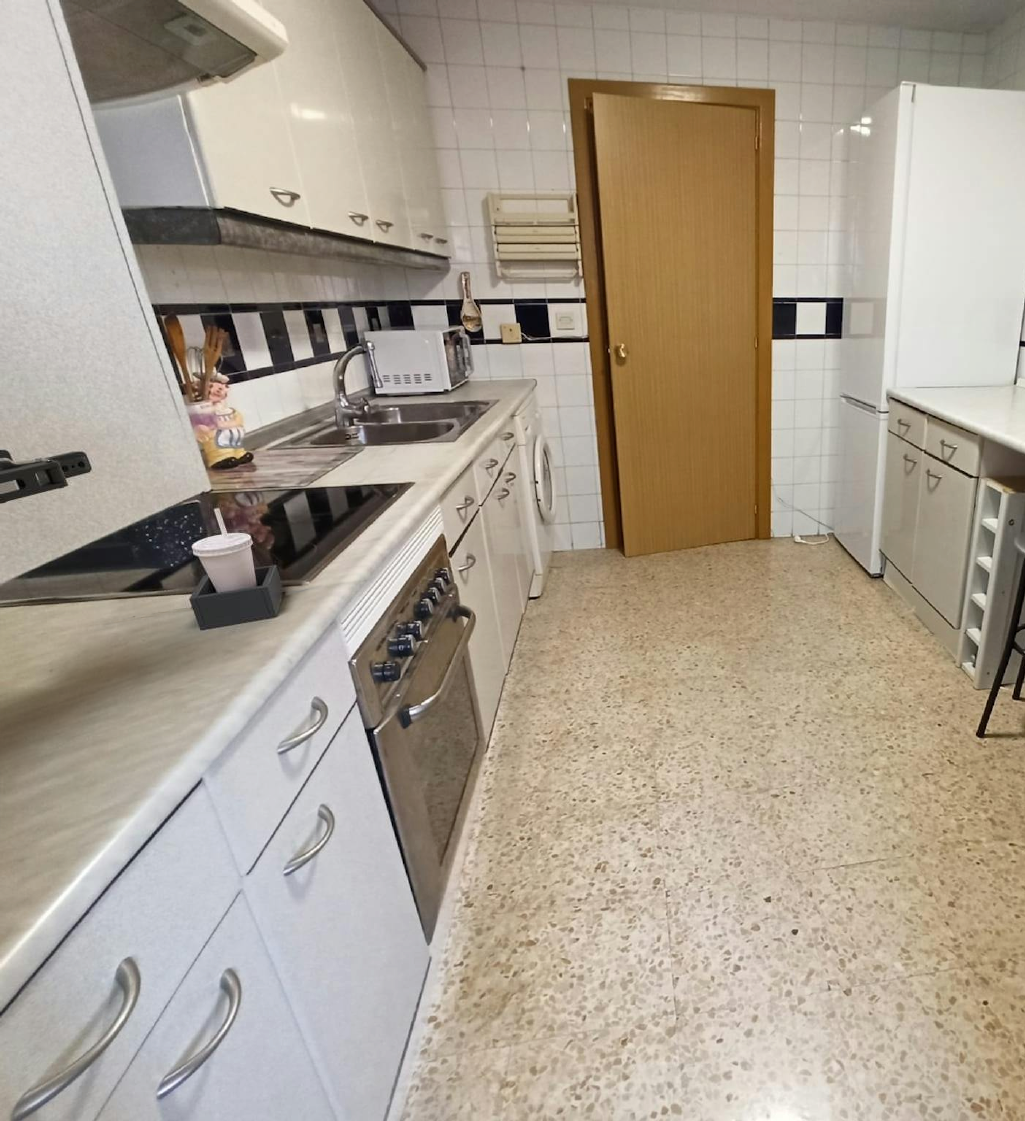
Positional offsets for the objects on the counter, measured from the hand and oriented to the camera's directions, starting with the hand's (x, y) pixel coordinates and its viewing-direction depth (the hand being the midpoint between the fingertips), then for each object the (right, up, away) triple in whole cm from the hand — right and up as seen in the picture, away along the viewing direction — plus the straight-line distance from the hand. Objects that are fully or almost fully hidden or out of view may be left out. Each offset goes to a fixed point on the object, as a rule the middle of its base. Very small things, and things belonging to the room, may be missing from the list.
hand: (47, 460), depth 67 cm
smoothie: (+3, -17, +23) cm, 29 cm away
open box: (+2, -17, +23) cm, 29 cm away
